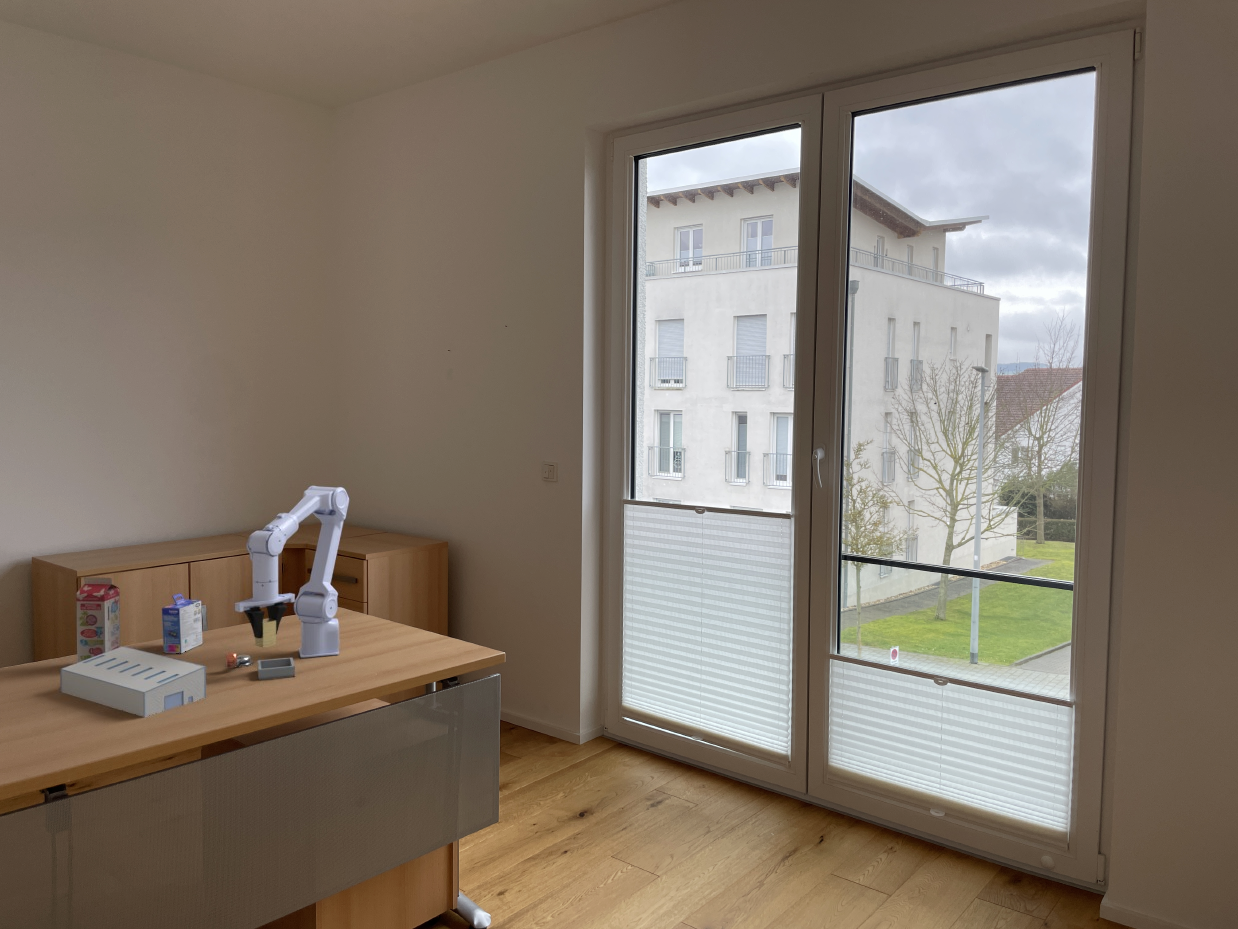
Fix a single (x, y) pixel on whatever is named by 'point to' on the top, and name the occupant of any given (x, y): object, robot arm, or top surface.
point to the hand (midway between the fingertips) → (265, 636)
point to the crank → (235, 659)
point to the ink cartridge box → (182, 625)
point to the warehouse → (135, 681)
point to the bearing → (245, 663)
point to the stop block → (267, 634)
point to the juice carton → (97, 618)
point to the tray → (276, 668)
